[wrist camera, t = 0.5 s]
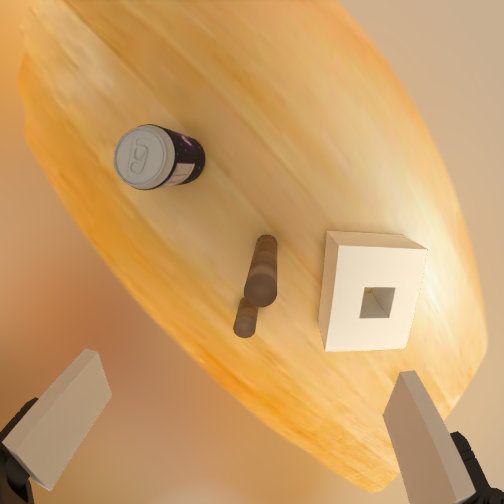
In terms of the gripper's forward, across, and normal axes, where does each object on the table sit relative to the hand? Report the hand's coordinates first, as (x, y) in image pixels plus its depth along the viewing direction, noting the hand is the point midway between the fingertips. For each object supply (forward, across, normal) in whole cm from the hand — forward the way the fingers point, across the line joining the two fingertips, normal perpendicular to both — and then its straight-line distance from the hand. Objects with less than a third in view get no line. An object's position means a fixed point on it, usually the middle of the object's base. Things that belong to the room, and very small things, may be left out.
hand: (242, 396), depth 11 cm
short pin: (+25, -2, -8) cm, 26 cm away
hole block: (+25, +12, -4) cm, 28 cm away
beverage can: (+25, -10, +10) cm, 29 cm away
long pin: (+25, 0, 0) cm, 25 cm away
